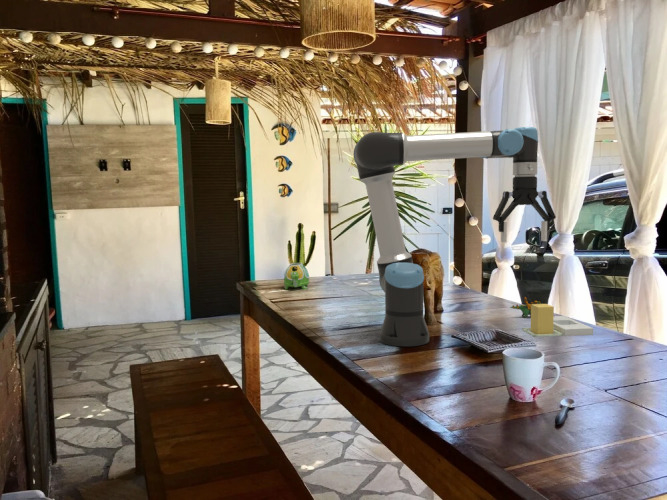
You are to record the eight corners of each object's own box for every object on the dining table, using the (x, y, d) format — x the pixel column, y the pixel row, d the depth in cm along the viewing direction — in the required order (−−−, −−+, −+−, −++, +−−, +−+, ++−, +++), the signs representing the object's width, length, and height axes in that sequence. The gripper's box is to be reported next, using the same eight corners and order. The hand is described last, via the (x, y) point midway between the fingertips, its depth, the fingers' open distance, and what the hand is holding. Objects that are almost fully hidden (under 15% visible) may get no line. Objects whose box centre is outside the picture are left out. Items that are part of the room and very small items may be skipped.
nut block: (537, 336, 179) (538, 307, 178) (530, 332, 184) (531, 304, 183) (553, 335, 179) (553, 306, 178) (545, 331, 184) (546, 303, 183)
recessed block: (564, 339, 177) (565, 329, 177) (538, 325, 195) (538, 316, 195) (593, 337, 178) (593, 328, 178) (564, 324, 196) (564, 315, 195)
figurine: (544, 320, 203) (544, 297, 202) (511, 321, 202) (511, 298, 201) (540, 318, 206) (540, 295, 205) (507, 319, 205) (508, 296, 204)
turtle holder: (280, 292, 269) (280, 266, 268) (285, 286, 287) (285, 262, 286) (307, 292, 269) (306, 266, 268) (310, 285, 287) (310, 261, 286)
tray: (534, 339, 177) (534, 335, 177) (521, 332, 186) (522, 328, 186) (562, 338, 178) (562, 333, 177) (548, 331, 186) (549, 327, 186)
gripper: (491, 176, 183) (491, 243, 185) (567, 175, 185) (566, 241, 187) (483, 177, 190) (482, 241, 192) (556, 175, 192) (555, 239, 194)
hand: (523, 241), depth 189 cm, fingers open, 13 cm apart
